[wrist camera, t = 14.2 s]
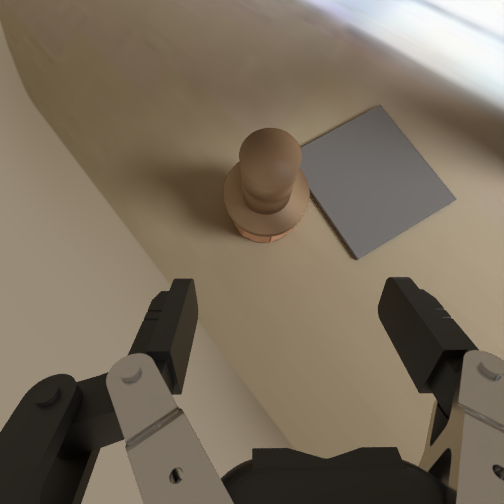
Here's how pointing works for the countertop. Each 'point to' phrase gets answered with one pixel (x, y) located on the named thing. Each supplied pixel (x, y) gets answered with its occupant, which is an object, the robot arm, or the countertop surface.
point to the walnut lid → (267, 184)
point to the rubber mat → (371, 181)
